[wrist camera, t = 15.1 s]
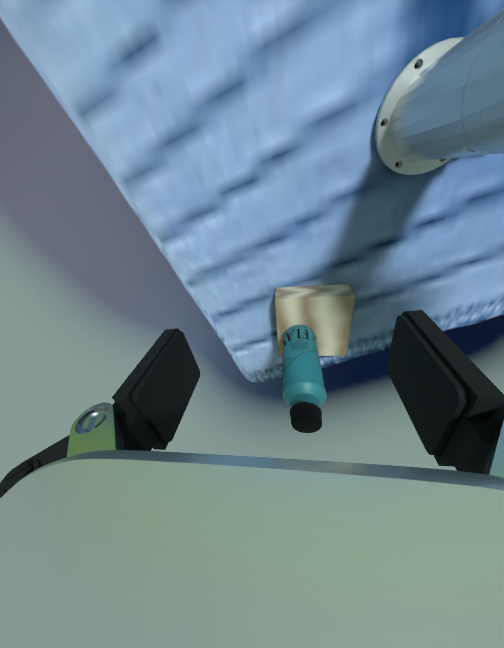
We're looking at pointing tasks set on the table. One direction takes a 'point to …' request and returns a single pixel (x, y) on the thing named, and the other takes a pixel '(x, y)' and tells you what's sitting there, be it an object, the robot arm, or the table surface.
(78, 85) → the table surface
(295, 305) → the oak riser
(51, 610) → the robot arm
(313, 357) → the beverage bottle
